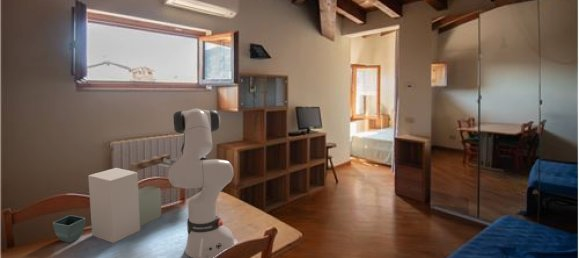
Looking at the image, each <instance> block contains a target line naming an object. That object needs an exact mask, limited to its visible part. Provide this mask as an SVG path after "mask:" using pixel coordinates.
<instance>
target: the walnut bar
mask: <svg viewBox="0 0 579 258" xmlns="http://www.w3.org/2000/svg"><path fill="white" fill-rule="evenodd" d="M155 156H156V157H153V156H152V157H150V158H146V159H142V160H139V161H138V160H137V161H134V162H132V163H129V166H130V167H129V169H130V170H129V171H133V172H137V171H140V170H144V169H146V168H150V167H153V166H157V164H160V163H164V162H163V161H162V158H166V159H168V160H169V159H171V155H170V154H168V153H164V154H160V155H155Z"/></svg>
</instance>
